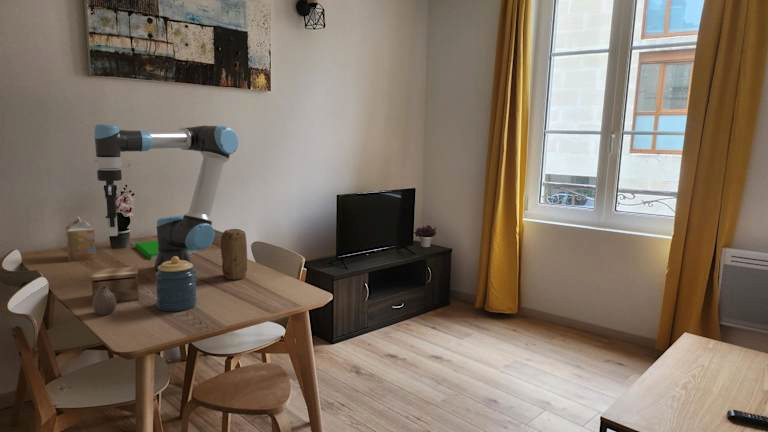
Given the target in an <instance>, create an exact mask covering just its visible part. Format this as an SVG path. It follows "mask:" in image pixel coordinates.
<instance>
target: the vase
mask: <svg viewBox="0 0 768 432" xmlns="http://www.w3.org/2000/svg"><path fill="white" fill-rule="evenodd" d="M91 303H92V309H93V312H95V314H97V316H108V315H110V314H112V313H114V311H115V310H116V308H117V303H116V298H115V295H114V294H113V293H112V292H111V291H110V290H109V289H108V287H100V288H99V290H98V292H97V293H96V294H95V296H94V298H93V297H92V302H91Z"/></svg>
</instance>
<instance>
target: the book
mask: <svg viewBox="0 0 768 432" xmlns="http://www.w3.org/2000/svg"><path fill="white" fill-rule="evenodd" d="M134 248H135V249H137V250H138V251H139V252H140V253H141V254H142V255H143V256H145V258H147V259H148V260H150V261H151V260H156V258H157V254H158V240H152V241H143V242H136V243H135V244H134ZM187 252H188V254H190V255H193V254H192V253H198V251H196V250H195V251H193V250H189V249H187Z"/></svg>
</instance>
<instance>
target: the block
mask: <svg viewBox="0 0 768 432" xmlns="http://www.w3.org/2000/svg"><path fill="white" fill-rule="evenodd" d="M246 234H247V233H246V231H245V230H242V229H239V228H229V229H226V230H224V231H223V233H222V235H221V238H220V252H221V259H222V261H221V262H222V265H221V267H222V270H221V271H222V274H223V276H224V277H225V278H227V279H228V280H234V281H235V280H242V279H244V278H245V277H246V276H247V271H248V247H247V246H248V244H247V235H246Z"/></svg>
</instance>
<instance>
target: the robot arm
mask: <svg viewBox="0 0 768 432" xmlns="http://www.w3.org/2000/svg"><path fill="white" fill-rule="evenodd" d="M93 137H94V143H95V144H94V146H95V157H96V159H94V161H93V162H94V163H96V168H97V171H96V172H97V173H96V175H97V180H98V181H101V182H105V185H103V191H104V198H105V199H106V213H107V214H106V216H105V219H107V226H108V227H107V228H108V229H107V231H108V237H117V236H118V233H119V232H118V231H119V228H118V227H119V226H118V215H119V212H118V210H117V203H116V202H117V201H116V199H117V196H118V195H117V190H118V185H116V184H115V182H117V181H121V180H122V179H123V178H122V176H123V175H122V170H121V168H122V157H121V153H123V152H141V153H142V152H148V151H150V150H152V149H153V150H155V149H180V150H182V151H194V152H200V154H201V157H202V162H201V165H200V169H199V173H198V177H197V180H196V184H195V187H194V191H193V196H192V198H191V201H190V202H191V203H190V206H189V209H188V212H185V213H184V214H183V215H173V216H172V215H171V216H164V217H160V218H158V219H157V221H156V236H157V240H156V241H158V254H157V258H156V259H155V261H154V264H153V265H154V271H155V273H157V272H158V271H159V270H158V266H160V265H161V264H162V263H164V262H166V261H171V259H172V257H174V256H177V257H178V258H179V260H186V261H188V262H189V263H192V259H191V257H190V255H189V254H188V252H187V249H189V250H193V251H195V250H196V251H197V252H199V251H200V252H201V251H204V250H206V249H208V248H210V246H211V245H212V243H213V242H214V241H215V240H214V239H215V237H216V236H215V235H216V233H215V230H214V227H213V226H212V224H213V220H212V219H211V212H212V210H213V205H214V202H215V198H216V194H217V190H218V186H219V182H220V180H221V175H222V171H223V167H224V164H225V163H226V162H228V161H229V159H230V157H231V155H232V154H234V153H235V152H237V150H238V149H239V138H238V135H237V133H236V132H235V130H234V129H233V128H232V127H229V126H226V125H198V126H189V127H180V128H178V129H120V127H119V125H117V124H99V123H98V124H96V125H94V135H93ZM192 264H193V263H192Z"/></svg>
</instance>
